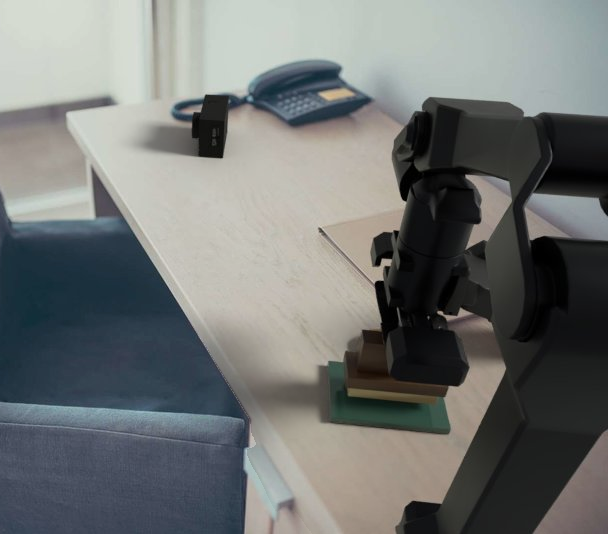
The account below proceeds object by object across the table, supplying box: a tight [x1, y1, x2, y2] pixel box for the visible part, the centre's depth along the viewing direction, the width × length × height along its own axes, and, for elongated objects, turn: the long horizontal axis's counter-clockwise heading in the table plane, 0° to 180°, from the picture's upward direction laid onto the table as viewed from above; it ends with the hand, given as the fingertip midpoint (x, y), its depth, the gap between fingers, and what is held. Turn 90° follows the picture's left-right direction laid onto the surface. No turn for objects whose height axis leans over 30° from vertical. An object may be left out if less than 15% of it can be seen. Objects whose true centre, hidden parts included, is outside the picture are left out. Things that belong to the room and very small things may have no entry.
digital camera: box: [191, 93, 230, 159], centre depth 111 cm, size 10×5×7 cm, turn 174°
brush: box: [342, 329, 450, 405], centre depth 65 cm, size 4×10×7 cm, turn 84°
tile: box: [326, 360, 452, 435], centre depth 68 cm, size 8×12×1 cm, turn 84°
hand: (395, 363), depth 65 cm, fingers closed on brush, 2 cm apart
